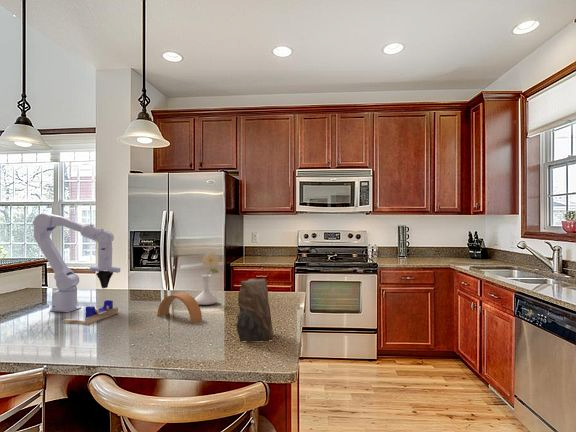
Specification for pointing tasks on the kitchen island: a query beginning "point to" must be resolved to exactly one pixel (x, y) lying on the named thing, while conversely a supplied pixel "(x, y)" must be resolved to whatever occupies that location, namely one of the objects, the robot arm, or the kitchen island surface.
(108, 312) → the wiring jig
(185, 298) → the arch
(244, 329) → the dark grey rock
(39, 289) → the kitchen island surface
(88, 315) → the blue pipe clamp half
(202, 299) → the flower in vase
